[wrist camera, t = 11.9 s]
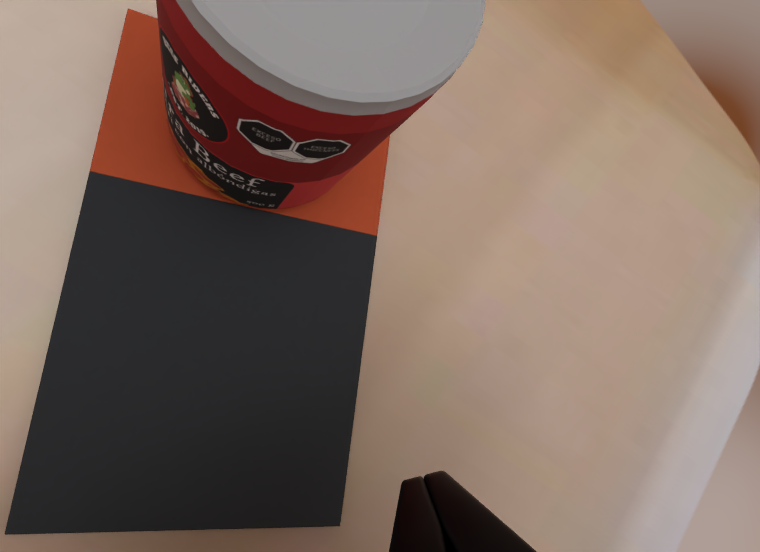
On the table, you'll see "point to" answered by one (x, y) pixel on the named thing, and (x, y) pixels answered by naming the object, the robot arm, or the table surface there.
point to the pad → (165, 167)
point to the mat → (196, 369)
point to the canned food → (300, 85)
